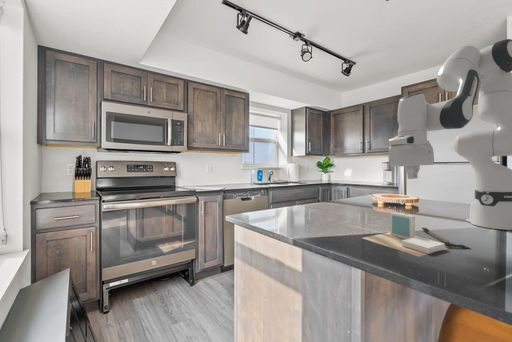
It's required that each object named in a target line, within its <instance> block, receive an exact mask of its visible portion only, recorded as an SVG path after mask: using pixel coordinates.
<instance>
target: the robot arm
mask: <svg viewBox="0 0 512 342" xmlns="http://www.w3.org/2000/svg"><path fill="white" fill-rule="evenodd" d="M436 83H437V84H438V85H437V86H439V87H440V88H441V89H442V90H444V91H446V92H450V93H455V92H457V93H456V96H455V97H453V98H451V99H448V100H444V101H439V102H435V103H429V102H427V99H426V96H425V94H424V93H422V92H417V93H414V94H413V93H412V94H409V95H406V96H403V97H401V98H400V99H399V101H398V105H397V124H398V129H397V135H396V136H394V137H392V138H390V139H388V144H387V145H388V146H389V147H388V165H389V166H390V167H392V168H393V167H398V168H399V167H404V170H405V172H406V174H407V179H409V180H413V179H418V178H419V177H418V174H419V171H420V169H421V166H432V165H434V163H435V153H434V148H433V146H432V144H431V143H430V141H429V140H428V132H433V131H441V130H452V129H453V130H457V129H463V128H464V127H466V126H467V125H468V124H469V123H470V121H472V119H473V116H474V104H475V100H476V97H477V93H478V99H477V118H479V119H480V120H481V121H483V122H485V123H490V124H494V125H495V126H497V127H496V128H488V129H479V130H478V129H477V130H471V131H466V132H463V133H459V134H457V136H456V137H455V139H454V141H453V149H454V151H455V153H456V154H458V155H459V156H461V157H462V158H464V159H465V160H467V161H468V162H469V163H470V165H471V166H472V168H473V170H474V174H475V188H476V189H475V190H474V201H472V202H471V203H470V212H469V218H466V220H465V221H466V222H468V223H470V224H472V225H474V226H478V227H482V228H487V229H495V230H506V231H512V169H511V168H509V167H508V166H505V165H502V164H500V163H497V162H494V160H493V157H507V156H509V157H510V156H512V39H510V38H507V39H502V40H499V41H496V42H495V43H493V44H491V45H489V46H485V47H483V48H482V49H479V48H478V47H476V46H473V45H464V46H460V47H459V48H457V49H456V50H454V52H452V53H451V54H450V56H448V58H447V59H446V60H445V61H444V63H443V64H442V65H441V67H440V69H439V71H438V72H437V74H436ZM479 84H480V86H479Z"/></svg>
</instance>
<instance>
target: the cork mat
mask: <svg viewBox="0 0 512 342" xmlns="http://www.w3.org/2000/svg"><path fill="white" fill-rule="evenodd" d="M415 237H419V236H418V235H415ZM420 237H421V236H420ZM421 238H423V237H421ZM362 239H363V240H367V241H369V242H372V243H375V244H378V245H381V246H385V247H387V248H390V249H394V250H397V251H399V252H400V251H401V252H403V253H406V254H409V255H411V256H415V257H418V258H420V257H424V256H427V255H430V254H434V253H438V252H442V251H445V250H448V249H452V248H454V247H453V246H445V249H443V250H439V251H436V252H432V253H429V254H428V253H424V252H421V251H418V250H415V249H411V248H408V247H405V246H402V240H406V239H405V238H402V237H398V236H394V235H391V234H390V231H389V232H385V233H384V232H383V233H380V234H374V235H369V236H364V237H362ZM425 239H428V240H430V239H429V238H426V237H425ZM431 240H432V241H434V240H433V239H431ZM435 241H436V242H438V241H437V240H435ZM439 242H440V243H442V242H441V241H439Z"/></svg>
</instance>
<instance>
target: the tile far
mask: <svg viewBox="0 0 512 342" xmlns="http://www.w3.org/2000/svg"><path fill="white" fill-rule="evenodd" d="M389 216H390V217H389V221H390V222H389V223H390V224H389V227H390V230H389V232H390V234H391V235H394V236H398V237H402V238H405V239H410V238H415V236H416V216H415V215H411V214H404V213H399V212H395V211H394V212H393V211H392V212H390V213H389Z"/></svg>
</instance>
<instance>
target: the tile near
mask: <svg viewBox="0 0 512 342" xmlns="http://www.w3.org/2000/svg"><path fill="white" fill-rule="evenodd" d="M425 238H426V237H425ZM425 238H424V237H422V238H421V236H418V237H415V238H410V239H406V240H402V246H405V247H408V248H411V249H415V250H418V251H421V252H424V253H428V255H430V254H429V253H431V254H433V253H432V252H435V253H437V252H436V251H438V252H440V251H439V250H442V251H444V250H443V249H445V244H444V243H443V242H441V241H437V240H433V239H429V238H426V239H425ZM428 239H429V240H428ZM432 240H433V241H432ZM436 241H437V242H436ZM440 242H441V243H440ZM445 250H446V249H445Z"/></svg>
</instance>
